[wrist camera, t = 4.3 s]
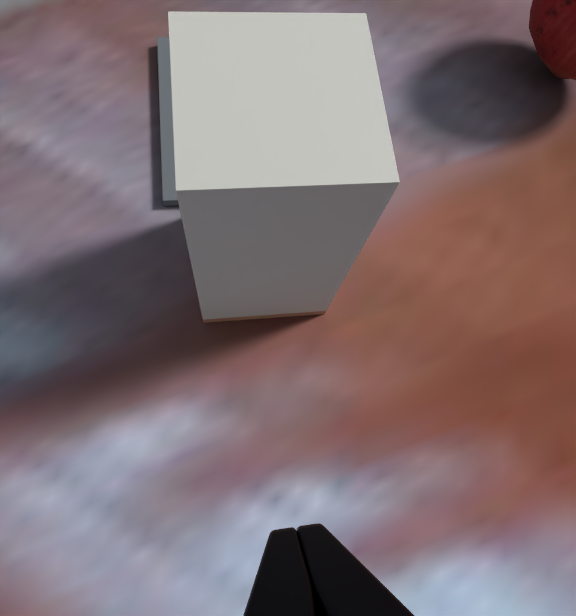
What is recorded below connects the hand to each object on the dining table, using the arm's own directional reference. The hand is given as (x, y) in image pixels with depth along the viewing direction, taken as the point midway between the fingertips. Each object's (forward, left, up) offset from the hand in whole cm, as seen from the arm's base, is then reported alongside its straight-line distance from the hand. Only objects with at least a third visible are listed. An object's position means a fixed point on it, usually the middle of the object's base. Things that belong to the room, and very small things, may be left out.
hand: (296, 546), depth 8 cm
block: (+9, -1, -9) cm, 12 cm away
